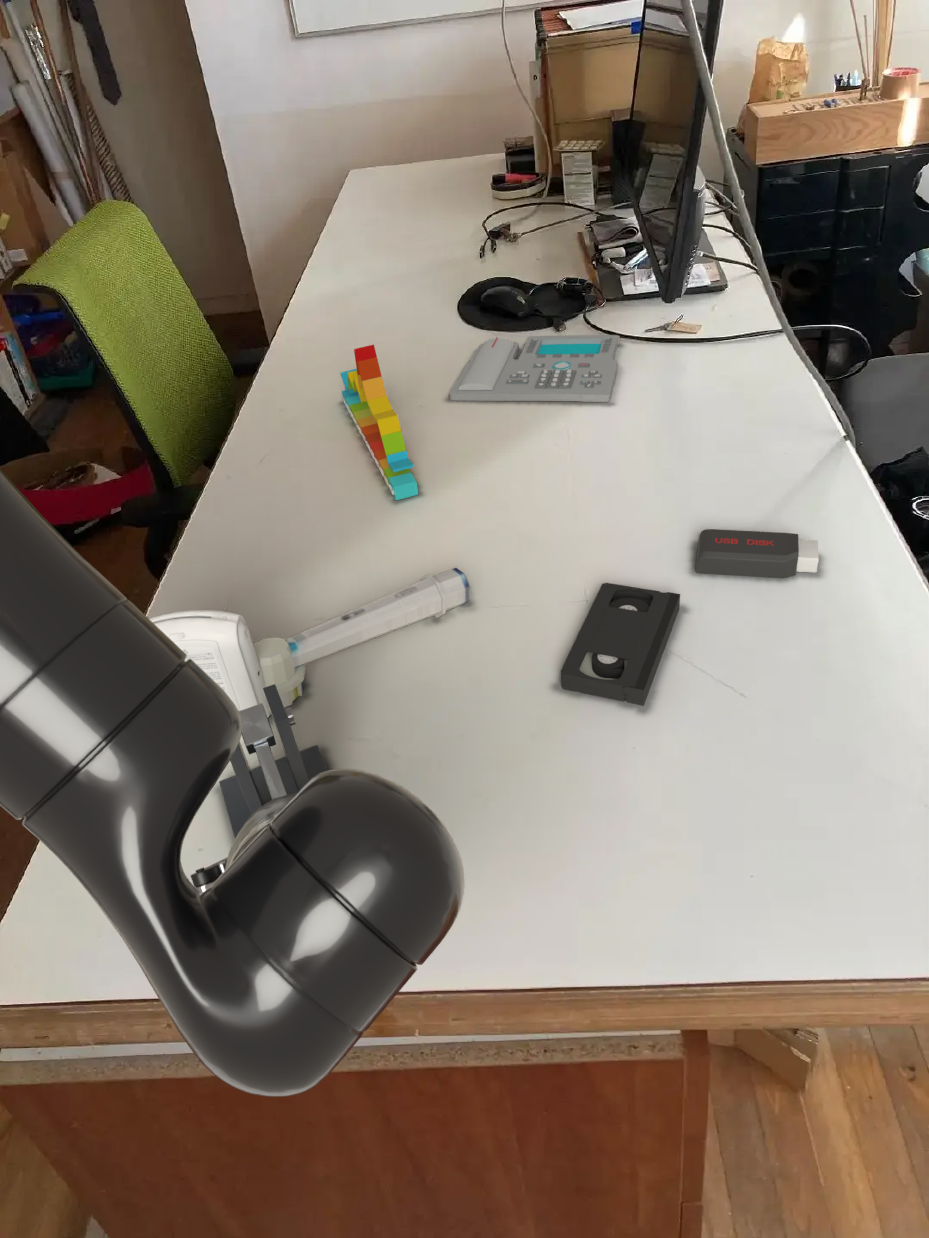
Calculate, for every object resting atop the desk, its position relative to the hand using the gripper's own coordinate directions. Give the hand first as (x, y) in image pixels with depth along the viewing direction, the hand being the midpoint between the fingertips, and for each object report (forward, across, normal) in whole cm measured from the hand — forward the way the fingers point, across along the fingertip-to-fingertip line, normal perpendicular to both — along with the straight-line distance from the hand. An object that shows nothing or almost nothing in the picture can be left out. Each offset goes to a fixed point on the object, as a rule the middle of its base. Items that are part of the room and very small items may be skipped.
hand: (295, 842), depth 64 cm
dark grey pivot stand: (+15, 0, -1) cm, 15 cm away
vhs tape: (+18, -35, -4) cm, 40 cm away
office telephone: (+61, -56, -47) cm, 95 cm away
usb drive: (+22, -54, -8) cm, 59 cm away
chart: (+55, -28, -41) cm, 74 cm away
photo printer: (+26, +3, -12) cm, 28 cm away
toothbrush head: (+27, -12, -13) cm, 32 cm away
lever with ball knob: (+7, 0, -3) cm, 8 cm away
